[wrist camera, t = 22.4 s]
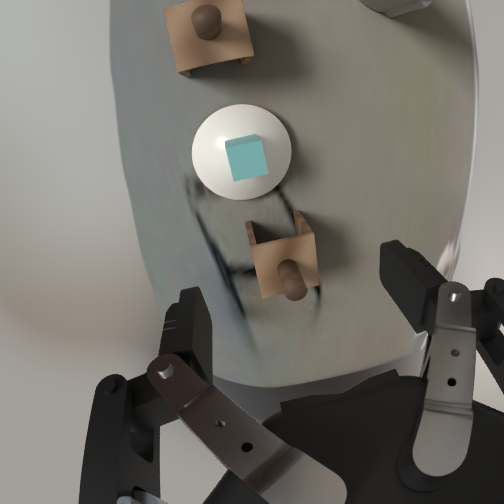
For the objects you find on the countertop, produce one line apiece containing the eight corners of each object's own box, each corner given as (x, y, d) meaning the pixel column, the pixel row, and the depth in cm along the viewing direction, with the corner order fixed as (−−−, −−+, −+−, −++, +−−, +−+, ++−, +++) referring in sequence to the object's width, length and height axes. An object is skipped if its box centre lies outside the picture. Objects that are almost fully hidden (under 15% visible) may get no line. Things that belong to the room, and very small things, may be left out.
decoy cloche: (298, 210, 43) (327, 254, 32) (304, 256, 47) (330, 308, 36) (245, 222, 44) (255, 271, 32) (255, 267, 47) (268, 324, 36)
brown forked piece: (235, 11, 29) (243, -26, 17) (247, 63, 33) (261, 47, 21) (173, 24, 29) (153, -7, 17) (186, 77, 33) (169, 67, 21)
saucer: (308, 141, 38) (310, 142, 37) (252, 213, 43) (253, 216, 42) (229, 85, 34) (229, 85, 33) (174, 166, 38) (173, 168, 37)
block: (255, 133, 36) (261, 140, 31) (261, 162, 38) (268, 173, 33) (224, 140, 36) (225, 148, 31) (231, 169, 38) (233, 181, 33)
